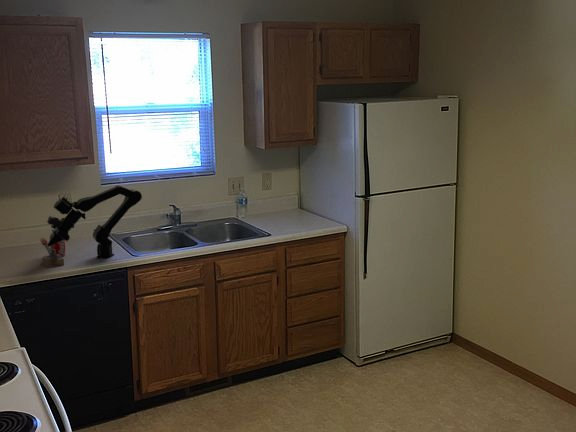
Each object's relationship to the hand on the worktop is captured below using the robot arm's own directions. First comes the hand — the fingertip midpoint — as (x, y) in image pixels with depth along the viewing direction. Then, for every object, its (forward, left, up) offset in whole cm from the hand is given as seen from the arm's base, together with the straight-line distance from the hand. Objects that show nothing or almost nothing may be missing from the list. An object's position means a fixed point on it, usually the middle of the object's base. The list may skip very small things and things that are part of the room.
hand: (48, 245), depth 307 cm
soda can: (+5, -14, -9) cm, 18 cm away
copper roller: (-1, -1, -6) cm, 6 cm away
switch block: (-1, -1, -9) cm, 9 cm away
